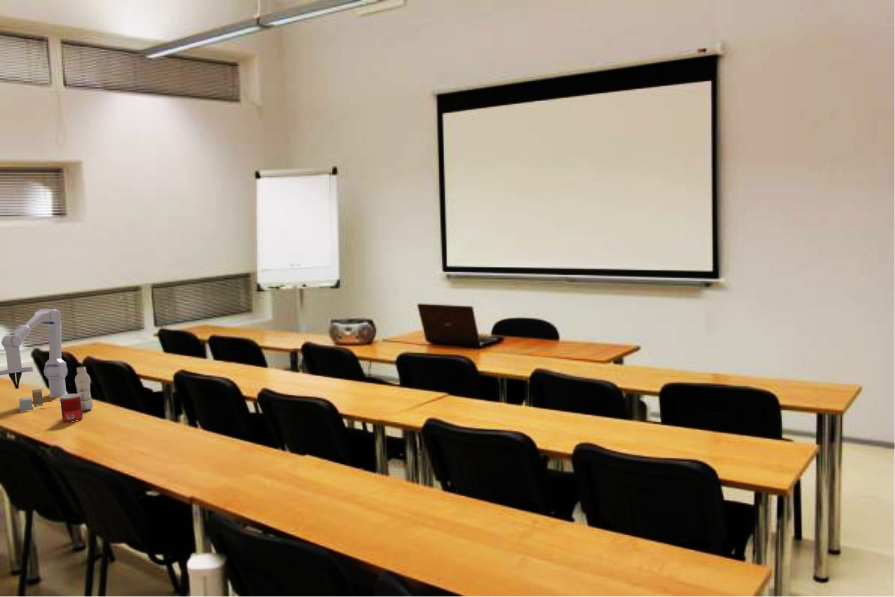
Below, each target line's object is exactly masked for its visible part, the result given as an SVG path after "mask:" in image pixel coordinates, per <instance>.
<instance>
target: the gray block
mask: <svg viewBox="0 0 895 597" xmlns="http://www.w3.org/2000/svg"><path fill="white" fill-rule="evenodd" d="M18 400H19V404H18V405H19V407H20V411H25V412H27V411H26V410H32V411H34V410H33V407H32V403H33V397H32V396H30V397H24V398H23V397H22V398H19V399H18Z"/></svg>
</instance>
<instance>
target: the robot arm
mask: <svg viewBox="0 0 895 597" xmlns="http://www.w3.org/2000/svg"><path fill="white" fill-rule="evenodd" d="M40 324H43V325H45V326H46V327H48V328H49V330H48V332H49V339H48V342H49V345H48V346H49V347H48V348H49V349H48V350H49V355H48V356H49V357H48V358H49V359H48V360H47V361H46V362H45V364H44V365H45V366H44V369H43V374H44V376H45V378H46V379H47V380H48V387H49V394H48V395H49V398H50V399H51V398H60V397H61V396H64V395H68V391H67V388H66V376H68V370H69V369H68V367H67V362H66V361H64V360H63V359H62V336H63V335H62V325H63V324H62V313H61V312H60V311H59V309H56V308H54V309H53V308H52V309H51V308H49V309H40V308H39V309H38V310H37V311H35V312H34V315H33V316H32V317H31V318H30V319H29V320H28V321H27V322H26V323H25V324H21V325H20V324H19V325H18V326H17V328H16V329H14V330H13V331H11V332H10V334H5V335H4V336H3V337H2V339H1V346H2V347H3V348H4V352H5V356H6V365H7V369H2V370H0V376H5V375H8V377H9V378H10V380H11V382H12V383H13V386H14V389H15V390H19V389H20V381H21V377H22V375H23V373H28V372H32V373H33V371H34V370H33V366H26V367H22V358H21V351H20V347H21V345H22V343H23V341H24V339H26V338H27V337H28V336H29V335H30V334H31V330H32V329H34V328H35V327H37V326H39V325H40Z"/></svg>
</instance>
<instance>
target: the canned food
mask: <svg viewBox="0 0 895 597" xmlns="http://www.w3.org/2000/svg"><path fill="white" fill-rule="evenodd" d="M59 400H60V403H61V406H60V409H61V419H62V421H64V422H63V423H66V422H69V423H72V422H71V421H76V420H79V421H81V420H83V411H82V406H81V397H80V394H77V393H69V394H68V393H67V395H64V396H59ZM80 419H81V420H80ZM76 422H77V421H76Z"/></svg>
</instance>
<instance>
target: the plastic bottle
mask: <svg viewBox="0 0 895 597" xmlns="http://www.w3.org/2000/svg"><path fill="white" fill-rule="evenodd" d="M86 368H87V367H86V366H78V367H76V373H77V374H76V375H75V378H74V382H75V387H76V392H77V393H76V394H80V397H81V406H82V412H83V411H84V412H85V411H86V410H87V411H89V410H91V409H93V406H94V402H93V400H92V396H91V395H92V394H91V377H90V375H89V374H88V373H87V369H86Z"/></svg>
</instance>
